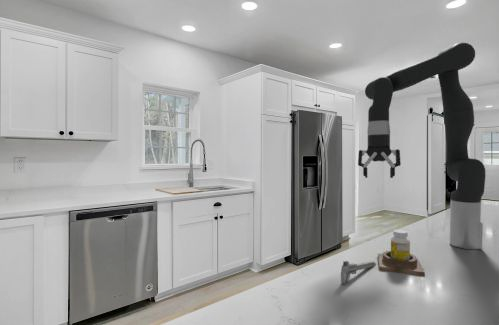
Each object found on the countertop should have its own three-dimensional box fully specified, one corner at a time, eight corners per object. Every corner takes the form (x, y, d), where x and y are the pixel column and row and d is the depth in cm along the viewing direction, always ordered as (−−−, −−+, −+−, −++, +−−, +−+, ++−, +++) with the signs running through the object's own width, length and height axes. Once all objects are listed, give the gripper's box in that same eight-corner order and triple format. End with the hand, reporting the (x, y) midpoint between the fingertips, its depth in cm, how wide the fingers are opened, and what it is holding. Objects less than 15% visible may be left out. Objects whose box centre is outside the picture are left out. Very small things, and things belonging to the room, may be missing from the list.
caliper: (344, 286, 78) (344, 263, 78) (340, 285, 79) (340, 262, 79) (376, 265, 93) (376, 245, 92) (373, 264, 93) (373, 244, 93)
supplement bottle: (411, 265, 88) (411, 234, 88) (391, 263, 90) (391, 232, 90) (408, 259, 93) (408, 229, 93) (390, 257, 95) (390, 228, 95)
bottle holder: (417, 260, 95) (417, 251, 95) (424, 275, 84) (424, 265, 84) (377, 256, 99) (377, 247, 99) (379, 269, 88) (379, 260, 88)
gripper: (398, 133, 107) (398, 177, 108) (357, 135, 112) (358, 176, 113) (401, 132, 100) (401, 179, 101) (358, 134, 105) (358, 178, 106)
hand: (378, 177), depth 107 cm, fingers open, 8 cm apart
